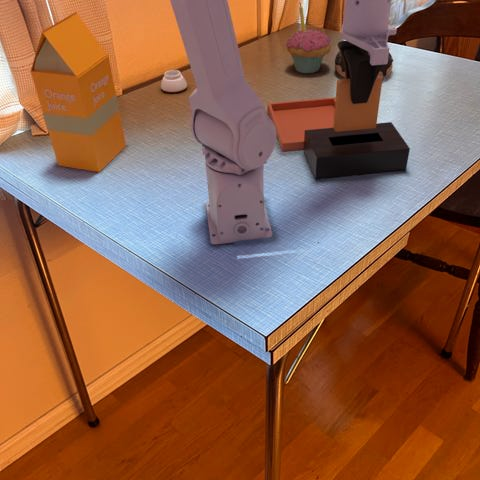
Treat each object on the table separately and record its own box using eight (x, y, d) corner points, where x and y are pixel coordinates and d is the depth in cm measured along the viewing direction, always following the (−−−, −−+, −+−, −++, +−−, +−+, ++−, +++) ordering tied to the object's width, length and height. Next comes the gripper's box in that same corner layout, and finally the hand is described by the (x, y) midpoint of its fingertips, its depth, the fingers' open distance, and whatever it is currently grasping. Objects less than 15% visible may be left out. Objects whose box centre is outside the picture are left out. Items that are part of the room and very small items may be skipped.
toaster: (405, 173, 83) (410, 148, 80) (315, 182, 82) (316, 157, 79) (387, 146, 89) (391, 121, 86) (303, 154, 88) (304, 130, 85)
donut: (345, 86, 106) (347, 65, 103) (325, 64, 114) (327, 43, 111) (400, 79, 107) (404, 58, 104) (377, 58, 116) (380, 37, 113)
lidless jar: (157, 93, 108) (182, 94, 106) (155, 77, 105) (180, 78, 104) (166, 82, 111) (190, 84, 110) (164, 67, 109) (189, 68, 108)
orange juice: (127, 145, 93) (101, 12, 79) (100, 172, 87) (66, 33, 73) (85, 140, 95) (53, 9, 81) (56, 165, 89) (16, 29, 75)
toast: (376, 128, 82) (382, 79, 77) (335, 132, 81) (339, 83, 76) (373, 124, 83) (379, 75, 78) (333, 127, 82) (337, 79, 78)
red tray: (357, 146, 89) (358, 136, 88) (282, 154, 89) (282, 143, 87) (334, 107, 100) (335, 97, 99) (267, 113, 99) (267, 103, 98)
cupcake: (282, 75, 111) (282, 8, 103) (291, 59, 117) (293, -5, 109) (325, 78, 109) (329, 10, 101) (332, 62, 115) (337, -4, 107)
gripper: (420, 5, 65) (401, 119, 74) (383, -27, 75) (370, 77, 84) (360, 10, 64) (349, 124, 74) (331, -23, 75) (324, 81, 84)
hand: (357, 99), depth 79 cm, fingers closed on toast, 1 cm apart
